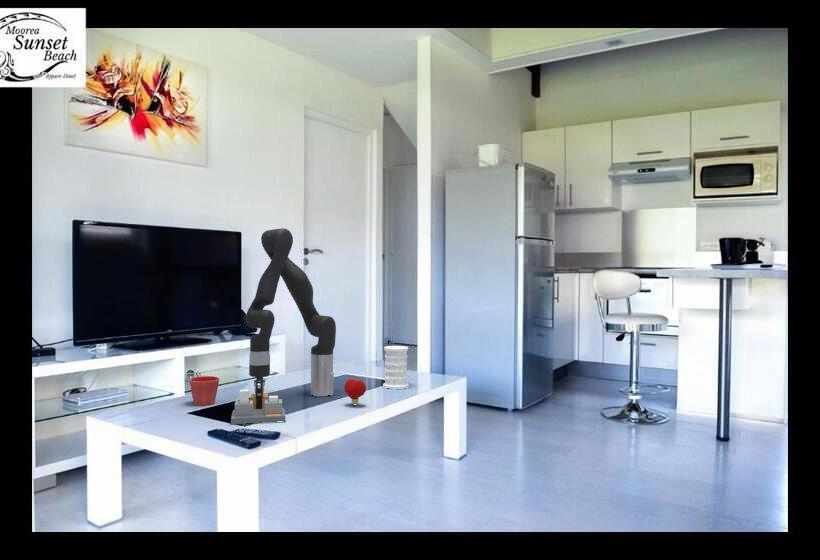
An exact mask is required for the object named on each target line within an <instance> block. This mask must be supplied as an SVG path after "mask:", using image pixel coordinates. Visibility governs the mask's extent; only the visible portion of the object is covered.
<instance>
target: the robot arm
mask: <svg viewBox="0 0 820 560" xmlns="http://www.w3.org/2000/svg"><path fill="white" fill-rule="evenodd" d="M260 241H261V245H262V248H263V250H264V251H265V254H267V256H268V258H269V259H270V263H269V264H268V266H267V268H266V269H265V270H264V272H263V273H262V275H261V276H260V279H259V280H258V284H257V288H256V292H255V296H254V298H253V300H252V302H251V304H250V306H249V308H248V310H247V311H246V314H245V323H246V325H247V326H248V327H249V328H252V329H260V330H259V332H258V333H257V334H253V335H252V336H250V339H249V356H248V358H249V359H248V362H249V363H248V364H249V365H248V366H249V367H248V368H249V369H248V370H249V371H248V375H249V377H253V378H255V379H254V381H253V387H254V394H256V397H255V399H256V409H262V400H263V394H265V385H266V380H265V379H264V377H268V376H270V375H271V354H270V348H271V347H270V343H271V342H270V339H271V336H272V332H273V328H274V326H275V315H274V313H273V311H272V310H270V309H264V308H265V307H267V306H270V305H272V304H273V303H274V301H275V300H276V293H277V289H278V285H279V281H280V278H281V279H282V281H283V283H284V284H285V286H286V288H287V290H288V292H289V294H290V295H291V297H292V299H293V301H294V303H295V305H296V307H297V309H298V311H299V312H300V315H301V318H302V320H303V322H304V325H305V327H306V329H307V332H308V333H309V334H310V335H311V336H313V337H315V338H318V339H317V344H316V345H312V346H311V349H310V396H312V395H313V397H329V396H328V395H330V396H334V349H335V346H336V335H337V334H336V333H337V324H336V321H335V319H334V317H332V316H329V315H320V313H319V312H318V310H317V309H316V306H315V304H314V288H313V285H312V282H311V281H310V279H309V276H308V275H307V274H306V272H305V271H304V270H303V269H302V268H301V267H300V266H298V264H296V263H295V262H293V260H292V259H291V258H290V257H289V255H290V253H291V250H292V247H293V245H294V244H293V243H294V237H293V234H292V232H291V231H290V230H289V229H287V228H274V229H268V230H265V231H264V232H263V233H262V234H261V238H260ZM257 394H261V396H257Z"/></svg>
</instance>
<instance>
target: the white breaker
mask: <svg viewBox="0 0 820 560" xmlns="http://www.w3.org/2000/svg"><path fill="white" fill-rule="evenodd" d="M278 399H279V395H268V400H269V403H272V402H278Z"/></svg>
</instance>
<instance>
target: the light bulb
mask: <svg viewBox="0 0 820 560" xmlns="http://www.w3.org/2000/svg"><path fill="white" fill-rule="evenodd" d="M366 389H367V387H366V383H365V382H364V381H363V380H361V379H359V380H356V379H354V378H350V379H347V380H346V382H345V384H344V392H345V393H346V395H347V397H348V398H349V399H351V404H352V405H353V404H357V405H358V404H359V398H360V397H362V396H364V395H365V393H366Z"/></svg>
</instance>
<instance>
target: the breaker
mask: <svg viewBox="0 0 820 560" xmlns="http://www.w3.org/2000/svg"><path fill="white" fill-rule="evenodd" d="M249 391H250V389H239V400H238V401H239V404H246V403H249V400H250V399H249V398H250V397H249V396H250V393H249Z"/></svg>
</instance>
